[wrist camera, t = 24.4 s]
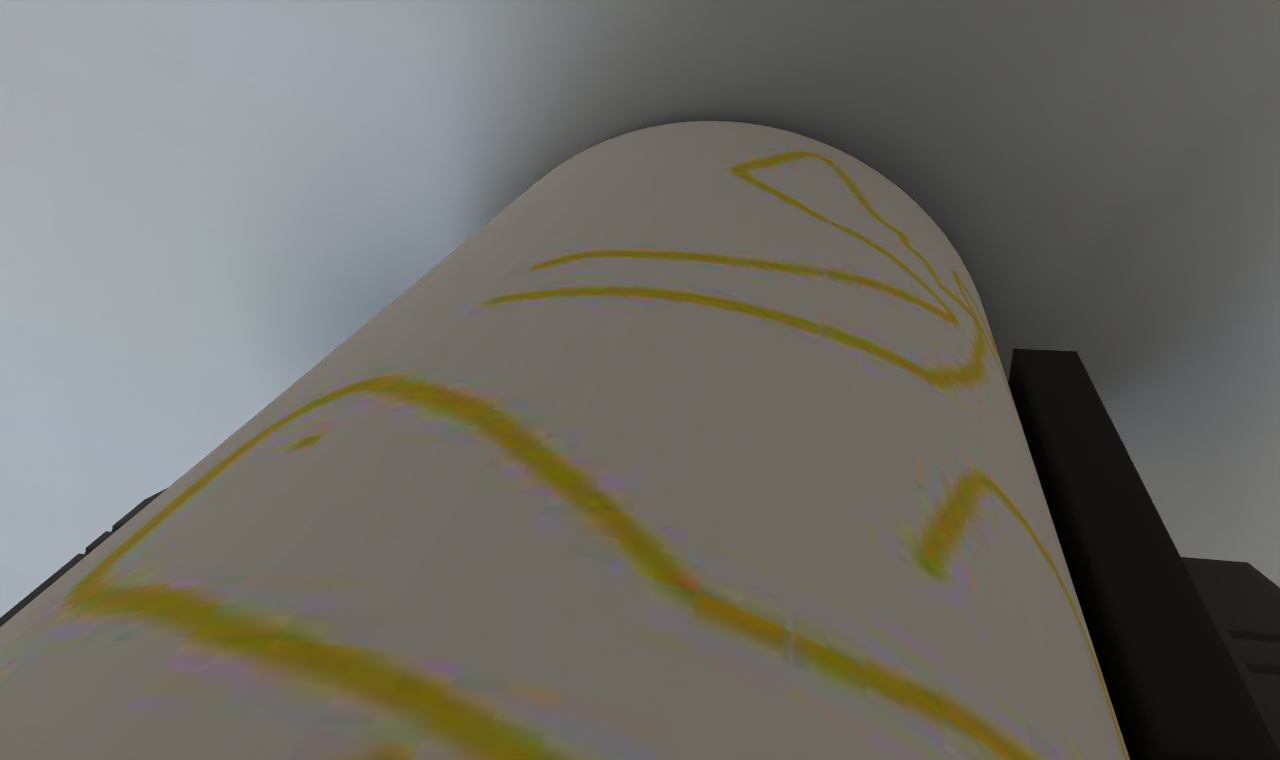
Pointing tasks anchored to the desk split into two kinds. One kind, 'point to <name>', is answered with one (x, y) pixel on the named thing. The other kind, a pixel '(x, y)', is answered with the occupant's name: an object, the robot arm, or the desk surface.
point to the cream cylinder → (606, 507)
